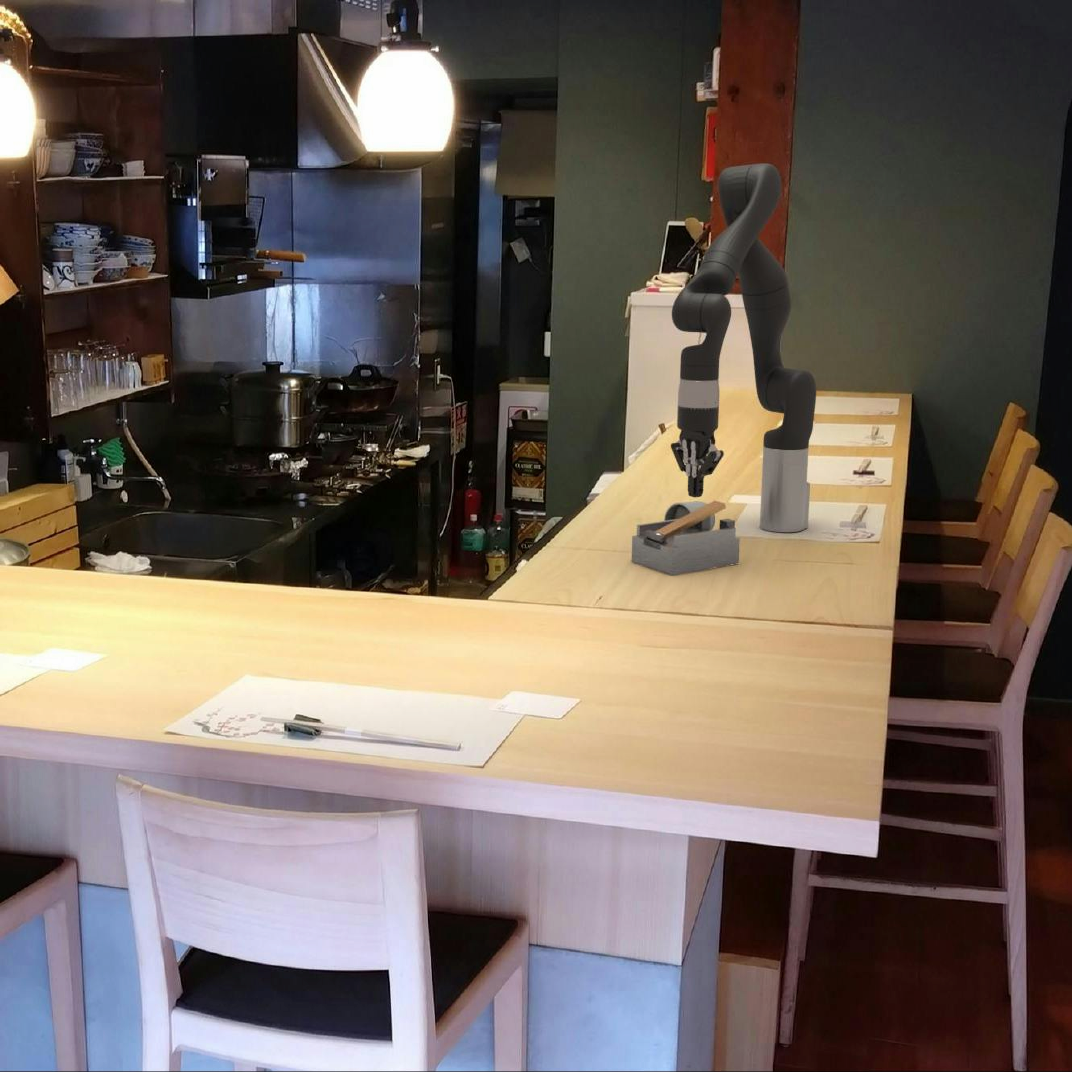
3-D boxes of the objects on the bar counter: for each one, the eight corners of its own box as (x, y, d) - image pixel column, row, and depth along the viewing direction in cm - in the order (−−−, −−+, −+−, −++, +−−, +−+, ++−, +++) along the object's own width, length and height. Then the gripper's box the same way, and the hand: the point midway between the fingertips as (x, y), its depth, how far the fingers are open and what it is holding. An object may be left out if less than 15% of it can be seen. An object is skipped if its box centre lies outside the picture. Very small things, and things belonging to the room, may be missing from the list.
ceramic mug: (717, 537, 273) (718, 500, 272) (692, 543, 268) (693, 505, 266) (676, 529, 280) (677, 493, 279) (651, 536, 275) (651, 499, 273)
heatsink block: (697, 550, 262) (698, 510, 260) (738, 563, 252) (740, 522, 250) (631, 561, 253) (632, 520, 251) (671, 575, 243) (673, 532, 241)
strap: (713, 504, 256) (711, 497, 256) (728, 508, 253) (726, 501, 252) (645, 539, 249) (643, 532, 248) (660, 544, 245) (658, 536, 245)
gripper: (738, 406, 243) (734, 500, 247) (691, 398, 254) (688, 488, 258) (706, 409, 239) (702, 504, 243) (659, 401, 250) (657, 492, 254)
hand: (695, 496), depth 251 cm, fingers closed
